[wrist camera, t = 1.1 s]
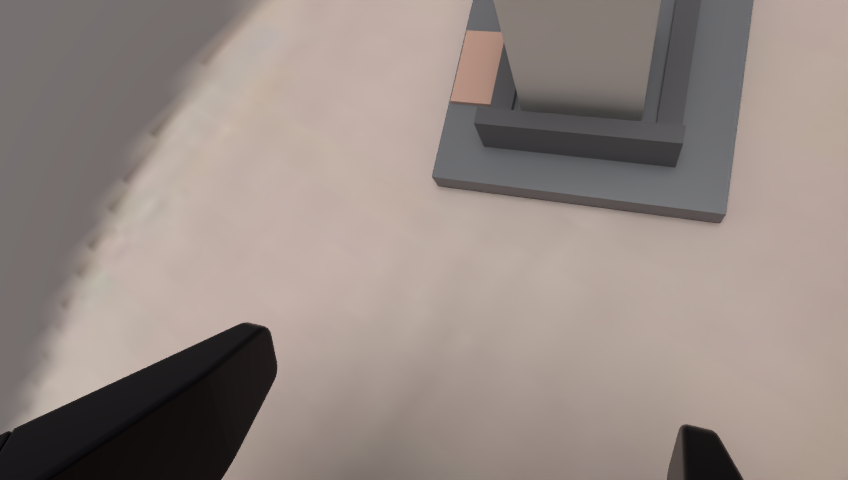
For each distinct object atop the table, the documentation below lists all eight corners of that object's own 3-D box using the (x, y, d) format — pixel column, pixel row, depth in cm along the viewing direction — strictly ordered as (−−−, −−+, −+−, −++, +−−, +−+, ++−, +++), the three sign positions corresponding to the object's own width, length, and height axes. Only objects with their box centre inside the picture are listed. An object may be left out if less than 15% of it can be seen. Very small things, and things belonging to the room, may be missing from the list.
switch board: (720, 223, 21) (739, 194, 18) (438, 185, 24) (417, 156, 21) (765, -125, 23) (788, -198, 21) (508, -119, 26) (497, -181, 24)
